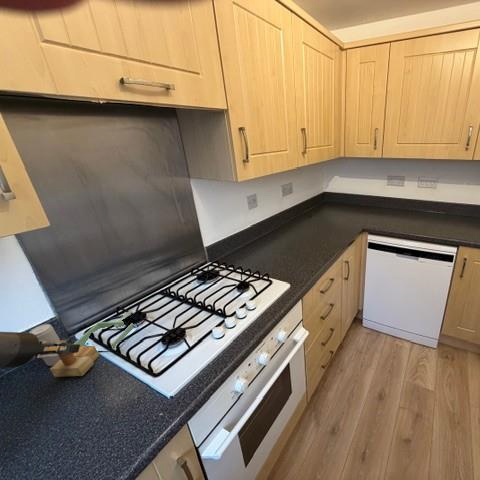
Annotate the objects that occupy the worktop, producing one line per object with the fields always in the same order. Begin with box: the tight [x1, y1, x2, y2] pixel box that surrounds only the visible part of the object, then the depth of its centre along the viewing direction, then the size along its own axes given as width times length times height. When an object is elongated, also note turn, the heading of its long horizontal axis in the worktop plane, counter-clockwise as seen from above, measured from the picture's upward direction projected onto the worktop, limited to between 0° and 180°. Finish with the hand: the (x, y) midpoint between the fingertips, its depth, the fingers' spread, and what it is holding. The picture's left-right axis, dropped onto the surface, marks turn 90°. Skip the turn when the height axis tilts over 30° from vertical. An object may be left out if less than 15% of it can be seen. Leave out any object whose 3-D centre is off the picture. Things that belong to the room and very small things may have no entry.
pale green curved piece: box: [73, 310, 134, 348], centre depth 88 cm, size 18×13×3 cm
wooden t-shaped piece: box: [49, 339, 95, 378], centre depth 72 cm, size 8×4×10 cm, turn 90°
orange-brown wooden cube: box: [73, 346, 100, 363], centre depth 77 cm, size 4×4×4 cm
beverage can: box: [28, 323, 61, 367], centre depth 76 cm, size 5×5×12 cm
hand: (72, 348), depth 73 cm, fingers closed on wooden t-shaped piece, 2 cm apart
